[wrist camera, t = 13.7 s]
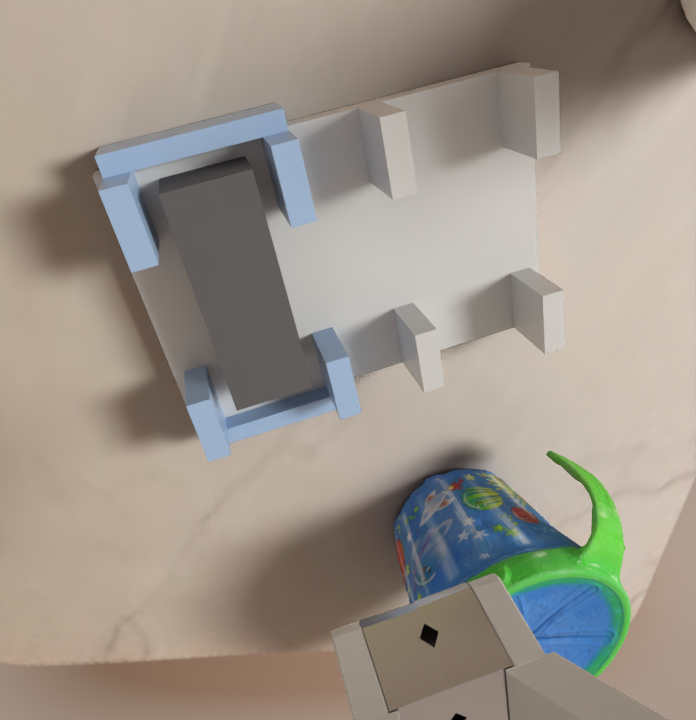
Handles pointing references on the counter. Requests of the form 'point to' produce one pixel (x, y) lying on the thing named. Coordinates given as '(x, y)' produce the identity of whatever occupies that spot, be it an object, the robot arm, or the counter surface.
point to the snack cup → (521, 559)
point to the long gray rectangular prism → (236, 279)
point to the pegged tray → (357, 235)
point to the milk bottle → (690, 11)
